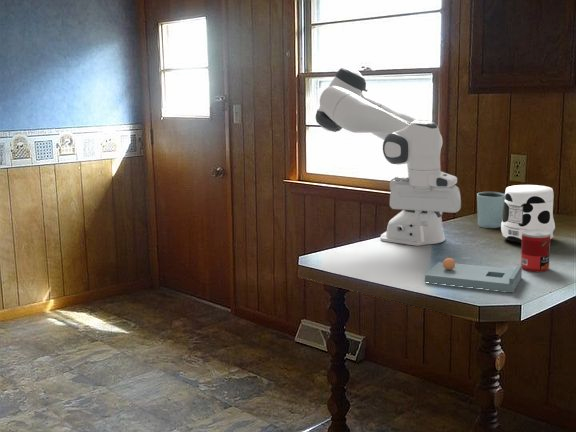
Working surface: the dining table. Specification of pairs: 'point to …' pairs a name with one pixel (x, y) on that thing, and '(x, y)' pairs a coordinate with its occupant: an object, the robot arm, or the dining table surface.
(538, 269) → the canned food
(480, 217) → the pale blue cup
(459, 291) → the dining table surface
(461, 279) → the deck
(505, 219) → the milk container
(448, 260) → the ball
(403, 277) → the dining table surface
